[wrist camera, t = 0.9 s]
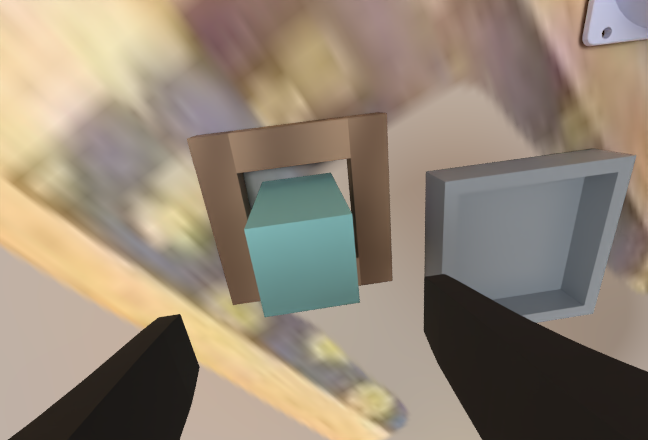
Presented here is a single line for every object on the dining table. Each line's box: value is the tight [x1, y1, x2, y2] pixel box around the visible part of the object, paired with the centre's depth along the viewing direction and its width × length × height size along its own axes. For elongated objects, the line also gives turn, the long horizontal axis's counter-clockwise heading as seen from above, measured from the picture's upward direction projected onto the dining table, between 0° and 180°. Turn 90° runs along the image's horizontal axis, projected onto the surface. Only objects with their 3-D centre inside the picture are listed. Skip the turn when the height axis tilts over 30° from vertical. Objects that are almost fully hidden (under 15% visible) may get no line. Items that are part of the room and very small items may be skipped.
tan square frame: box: [187, 112, 392, 305], centre depth 18 cm, size 10×10×2 cm
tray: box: [425, 149, 636, 323], centre depth 19 cm, size 11×11×2 cm
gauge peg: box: [244, 173, 360, 317], centre depth 15 cm, size 4×4×7 cm
